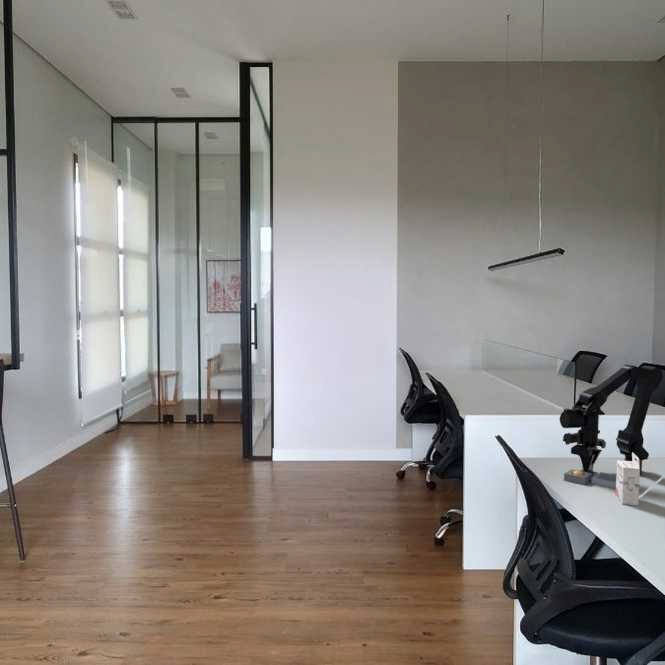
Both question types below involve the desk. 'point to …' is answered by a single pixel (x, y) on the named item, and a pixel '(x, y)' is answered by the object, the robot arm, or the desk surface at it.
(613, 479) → the cup
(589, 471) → the cylinder
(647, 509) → the desk surface
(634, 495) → the ink cartridge box
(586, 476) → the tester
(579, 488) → the desk surface
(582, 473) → the tester button
